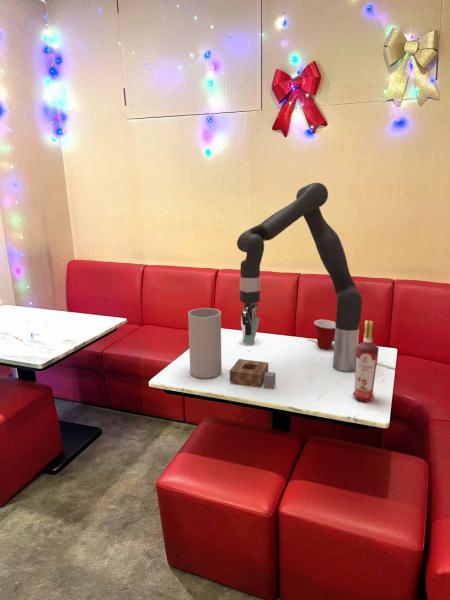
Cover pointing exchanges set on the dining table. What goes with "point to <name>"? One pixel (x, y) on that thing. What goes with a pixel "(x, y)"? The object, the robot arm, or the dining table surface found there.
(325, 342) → the plastic cup
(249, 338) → the long pin
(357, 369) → the liquor
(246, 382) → the socket block
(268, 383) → the short pin
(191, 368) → the cylinder vase
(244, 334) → the beer glass
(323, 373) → the dining table surface
